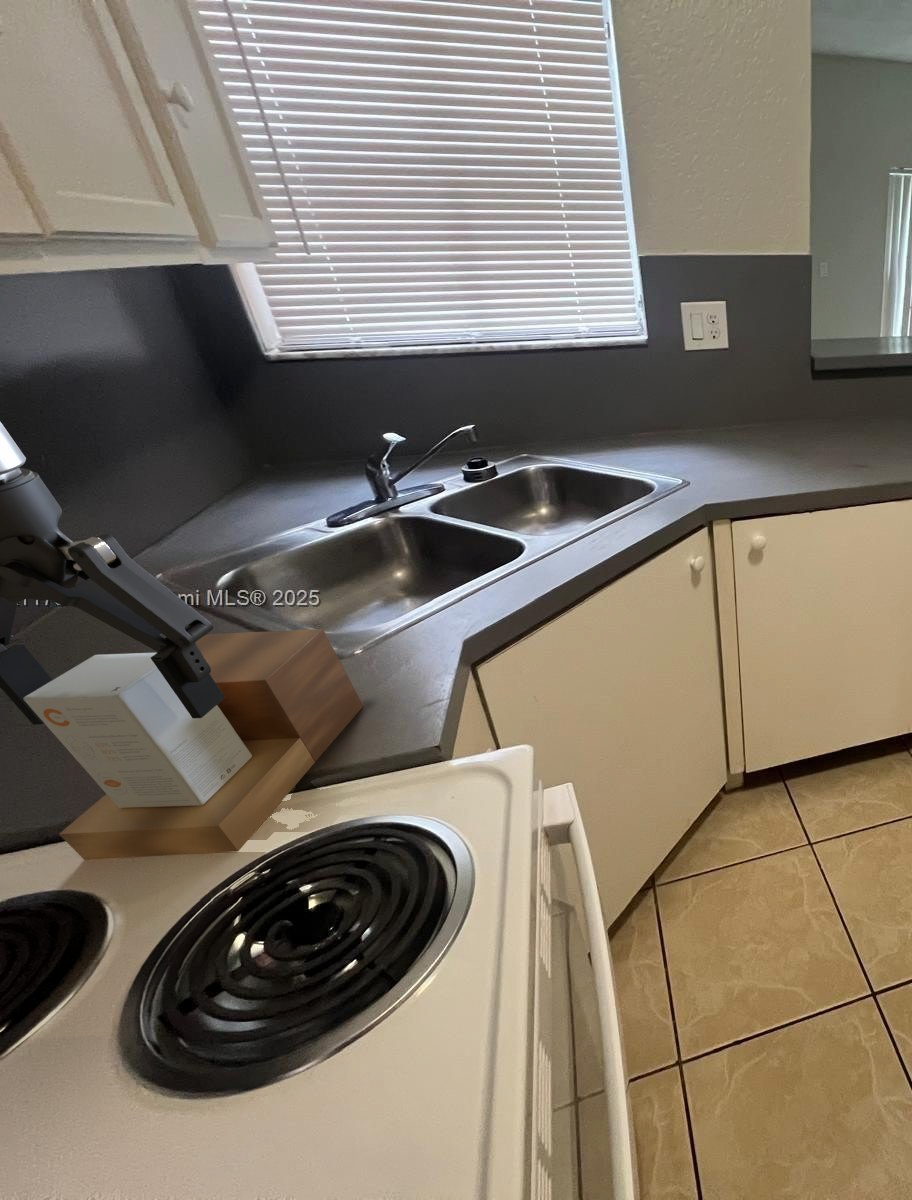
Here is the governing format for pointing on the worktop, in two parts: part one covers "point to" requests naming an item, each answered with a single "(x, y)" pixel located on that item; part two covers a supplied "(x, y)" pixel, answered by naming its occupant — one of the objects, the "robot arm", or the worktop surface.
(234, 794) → the shelf stand
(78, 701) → the small box
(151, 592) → the robot arm
